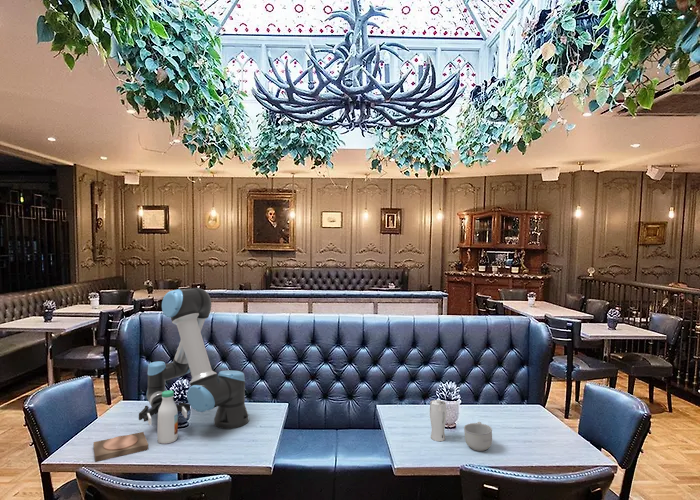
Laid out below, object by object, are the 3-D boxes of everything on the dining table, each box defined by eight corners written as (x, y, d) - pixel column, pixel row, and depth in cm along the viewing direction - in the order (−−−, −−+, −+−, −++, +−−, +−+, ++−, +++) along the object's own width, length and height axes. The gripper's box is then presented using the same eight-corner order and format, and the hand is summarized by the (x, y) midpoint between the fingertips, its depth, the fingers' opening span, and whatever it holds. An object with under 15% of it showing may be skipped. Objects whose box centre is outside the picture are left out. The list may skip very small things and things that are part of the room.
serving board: (143, 436, 180) (143, 430, 180) (148, 449, 168) (148, 443, 168) (93, 447, 170) (93, 440, 170) (95, 461, 158) (95, 454, 158)
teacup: (488, 456, 164) (488, 435, 164) (460, 449, 170) (460, 429, 170) (496, 442, 176) (496, 423, 176) (470, 436, 181) (470, 417, 181)
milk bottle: (170, 445, 172) (170, 395, 172) (153, 443, 173) (153, 394, 173) (181, 436, 180) (181, 389, 179) (165, 435, 181) (165, 388, 181)
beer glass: (428, 440, 177) (428, 404, 177) (431, 433, 184) (431, 398, 184) (445, 443, 175) (445, 406, 175) (447, 436, 182) (447, 400, 182)
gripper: (188, 405, 199) (200, 420, 181) (128, 416, 185) (134, 434, 167) (188, 389, 199) (200, 403, 181) (128, 399, 185) (134, 415, 167)
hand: (168, 418), depth 174 cm, fingers open, 13 cm apart
